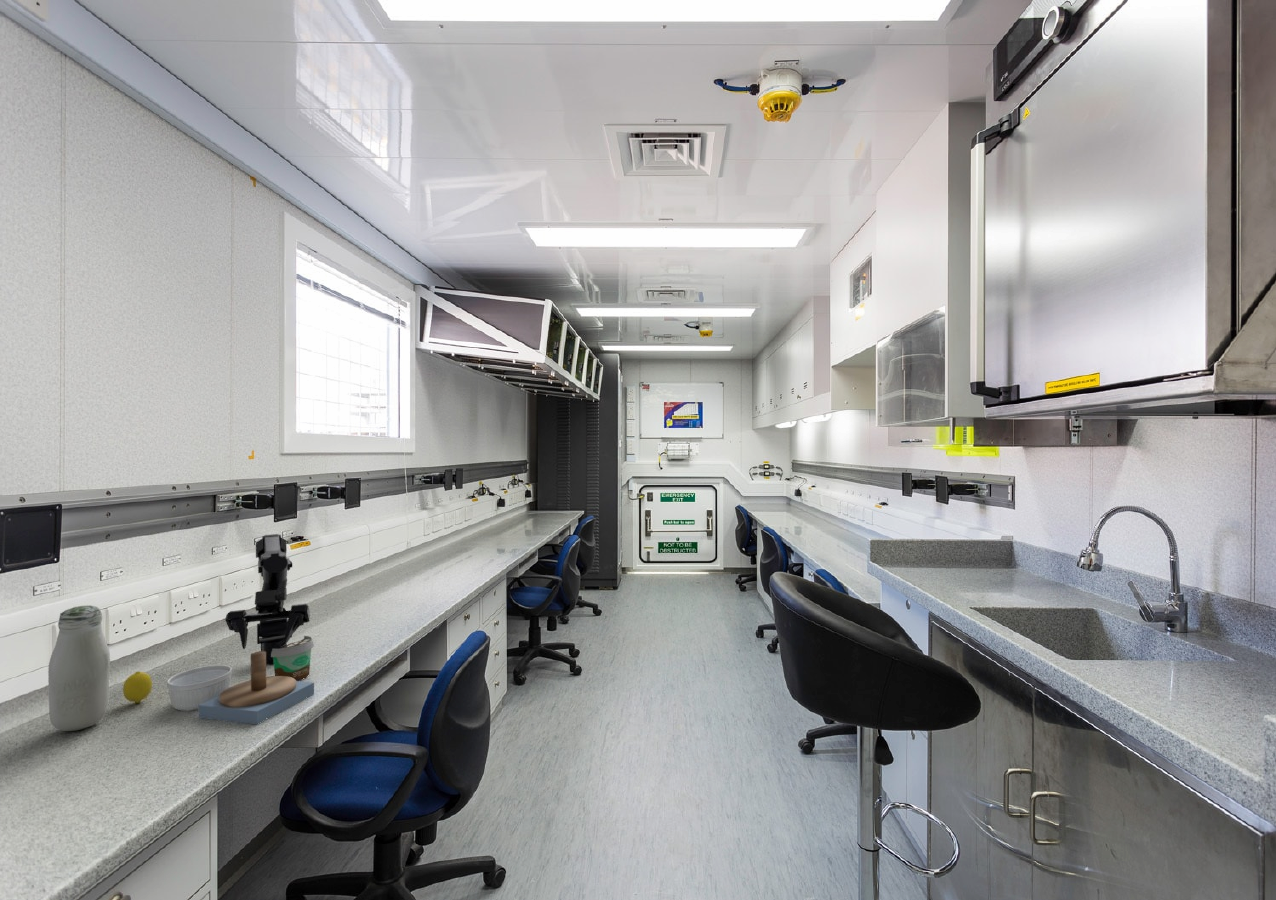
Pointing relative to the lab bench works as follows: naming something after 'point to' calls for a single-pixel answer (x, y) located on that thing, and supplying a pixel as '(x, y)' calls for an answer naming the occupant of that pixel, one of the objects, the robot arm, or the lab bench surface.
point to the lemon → (137, 687)
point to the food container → (293, 659)
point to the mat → (257, 712)
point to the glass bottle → (79, 670)
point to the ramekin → (198, 686)
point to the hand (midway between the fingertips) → (264, 645)
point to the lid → (257, 686)
